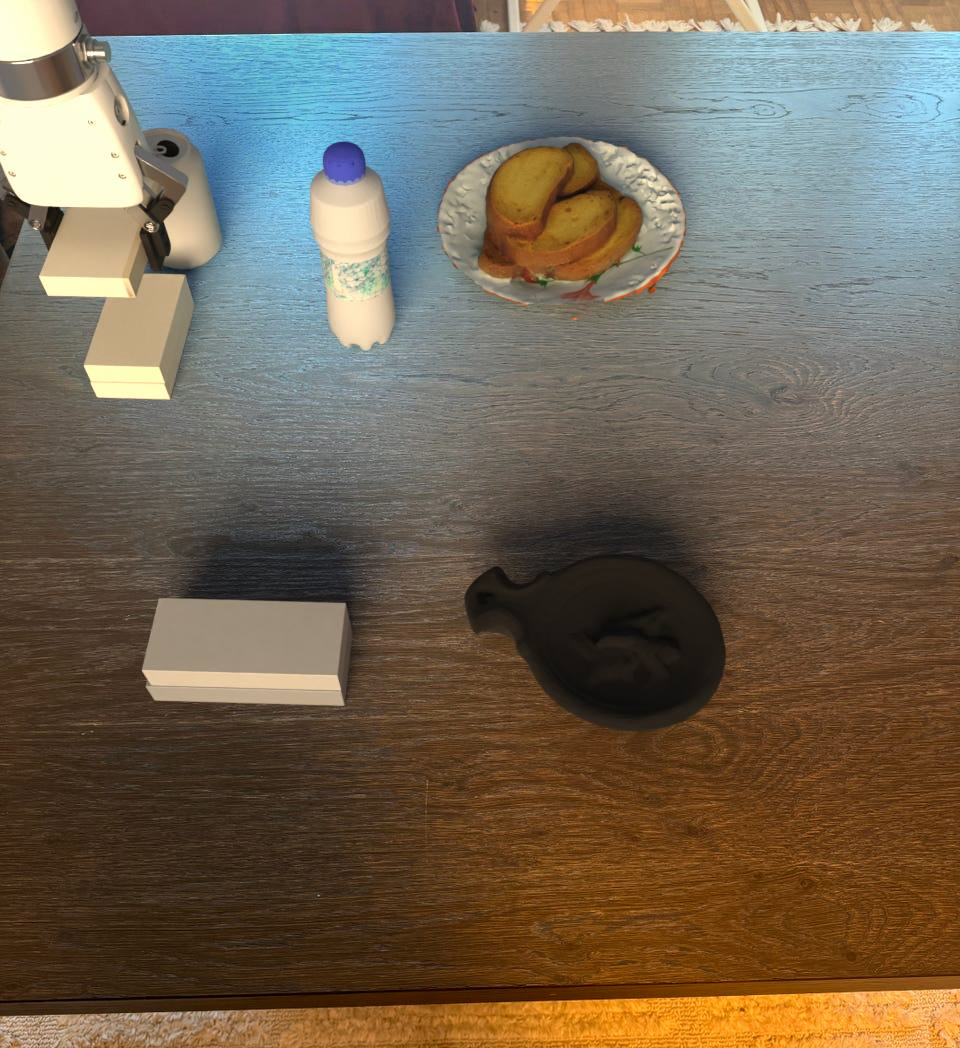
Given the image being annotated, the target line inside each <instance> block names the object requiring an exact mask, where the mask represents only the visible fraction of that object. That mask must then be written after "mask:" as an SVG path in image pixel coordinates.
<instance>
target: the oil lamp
mask: <svg viewBox="0 0 960 1048" xmlns="http://www.w3.org/2000/svg"><path fill="white" fill-rule="evenodd" d="M705 597H706V596H704V595H703V594H702V593H701V592H700V591H699V590H698V589H697V588H696V586H694V584H693V583H692V582H691V581H689V580H688V578H686V577H684V576H683V575H681V573H679V572H678V571H676V570H675V569H674V568H671V567H669V566H668V565H665V564H663V563H662V562H660V561H657V560H655V559H652V558H649V557H646V556H642V555H637V554H631V553H604V554H598V555H593V556H589V557H585V558H581V559H578V560H575V561H574V562H572V563H570V564H568V565H566V566H564V567H562V568H559V569H557V570H552V571H549V570H542V571H540V572H539V573H537V575H536V576H535V577H534V578H533V579H532V580H530V581H528V582H523V583H517V582H515V581H512V580H511V579H509V577H508V575H507V574H506V572H505V570H504V569H503V568H502V567H501V566H499V565H494V566H492V567H490V568H489V569H487V570H486V571H484V572H483V573H481V574H480V575H478V576H477V578H475V579H474V580H473V581H472V582H471V584H470V585H469V586H468V588H467V590H466V591H465V594H464V596H463V599H464V608H465V613H466V616H467V619H468V622H469V626H470V629H471V630H472V632H473V633H474V634H475V635H479V634H481V633H493V634H494V633H495V634H501V635H503V636H505V637H507V638H510V639H511V640H513V641H514V643H515V647H516V652H517V654H518V656H519V657H521V659H523V660H524V662H526V664H527V666H528V667H529V668H528V669H529V670H530V672H531V674H532V675H533V677H534V679H535V680H536V682H537V684H538V686H539V687H540V688H541V690H542V691H543V692H544V694H546V696H548V697H549V698H550V699H551V700H552V701H554V702H555V704H557V705H558V706H560V707H561V708H562V709H563V710H565V711H566V712H568V713H569V714H571V715H572V716H574V717H576V718H578V719H580V720H583V721H584V722H587V723H590V724H591V725H595V726H597V727H602V728H605V729H609V730H614V731H620V732H648V731H649V732H650V731H656V730H661V729H665V728H669V727H673V726H674V725H678V724H681V723H684V722H685V721H686V720H688V719H690V718H692V717H693V716H695V715H696V714H698V713H699V712H700V711H701V710H703V709H704V708H705V707H706V706H707V705H708V704H709V702H710V701H711V700H712V698H713V697H714V695H715V694H716V693H717V692H718V689H719V687H720V684H721V681H722V680H723V677H724V671H725V667H726V660H727V659H726V658H727V657H726V656H727V649H726V644H725V638H724V634H723V631H722V627H721V623H720V621H719V618H718V616H717V615H716V612H715V610H714V609H713V606H712V605H711V604H710V602H709V601H708V600H707V599H706V598H705Z"/></svg>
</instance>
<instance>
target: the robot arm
mask: <svg viewBox="0 0 960 1048" xmlns="http://www.w3.org/2000/svg"><path fill="white" fill-rule="evenodd" d="M111 61H112V50H111V46H110V44H109V42H108V41H105V40H103V41H102V40H101V41H100V40H98V39H97V38H92V37H91V35H90V33H89V30H88V27H87V24H86V23H83V21H82V18H81V15H80V12H79V10H78V5H77V3H76V1H75V0H0V200H1V201H2V202H3V205H4V206H5V207H6V208H8V209H9V210H11V211H12V212H14V213H16V214H17V215H19V216H20V217H23V218H24V219H25V220H27V225H28V226H29V227H30V228H31V229H32V230H34V231H38V232H39V234H40V236H41V239H42V240H43V243H44V245H45V247H46V249H47V251H48V252H49V250H50V248H51V245H52V243H53V240H54V238H55V236H56V234H57V231H58V229H59V226H60V224H61V221H62V219H63V216H64V213H65V211H63V210H62V209H61V208H62V207H64V208H65V207H66V208H67V207H123V208H124V209H125V210H126V211H127V212H128V213H129V214H130V215H131V216H132V217H133V218H134V219H135V220H136V221H137V222H138V223H139V224H140V225H141V226H142V227H141V230H140V233H139V236H140V239H141V240H142V243H143V246H144V249H145V252H146V255H147V257H148V261H147V263H148V264H149V268H150V270H152V271H153V272H162V269H163V266H164V265H163V263H164V259H165V256H169V255H170V251H171V243H170V239H169V236H168V233H167V230H166V227H165V224H164V220H165V219H166V218H167V217H168V216H169V215H170V214H171V213H172V211H173V209H174V207H175V206H176V204H177V203H178V202H179V200H180V199H181V198H182V196H183V195H184V193H185V192H186V189H187V186H188V182H189V178H188V176H187V175H186V174H184V173H182V172H181V171H179V170H178V169H176V168H174V167H173V166H171V165H169V164H168V163H166V162H164V161H163V160H161V159H159V158H158V157H156V156H154V155H153V154H151V152H150V149H149V147H148V144H147V141H146V139H145V136H144V134H143V131H144V130H143V128H142V127H141V124H140V123H139V120H138V117H137V115H136V113H135V111H134V110H135V109H134V108H133V106H132V104H131V102H130V100H129V98H128V96H127V94H126V91H125V90H124V88H123V86H122V84H121V82H120V81H119V79H118V77H117V75H116V74H115V72H114V70H113V69H112V67H111V66H110V64H109V63H111ZM143 176H146V177H148V178H150V179H151V180H153V181H155V182H156V183H158V184H160V185H161V186H163V187H164V189H163V190H162V191H161V192H160V193H159V194H158V195H156V194H155V193H154V192H153V191H152V190H151V189H150V188H149V187H148V186H147V185H146V183H145V182H144V181H143V180H142V177H143ZM142 203H143V204H144V205H145V206H146V207H147V208H145V207H144V206H143V205H142Z"/></svg>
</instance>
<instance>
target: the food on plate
mask: <svg viewBox="0 0 960 1048" xmlns="http://www.w3.org/2000/svg"><path fill="white" fill-rule="evenodd" d="M438 208H439V209H438V211H437V210H436V213H437V227H436V230H437V233H439V235H440V236H441V250H443V251H444V253H445V255H446V256H447V258H448V259H449V260H450V261H451V262H452V266H453V267H454V268H455V269H457V270H459V269H460V270H461V271H462V272H463V273H464V274H465V276H467V277H468V279H470V280H471V281H473V283H474V285H477V286H480V287H482V288H483V290H484V292H485V293H488V294H490V295H496V296H497V297H498V298H500V299H505V300H506V301H507V302H511V303H515V304H519V305H522V306H525V307H526V306H528V305H533V304H534V305H547V304H549V305H554V306H561V305H563V304H583V303H589V302H594V301H601V300H603V302H604V304H606V303H610V302H613V301H614V302H617V301H619V300H621V299H623V298H626V297H628V296H631V295H632V296H634V294H635V293H637V295H639V294H640V293H642V292H643V291H644V290H646V289H647V288H648V289H647V293H649V294H653V293H656V292H657V290H656V288H655V285H656V284H657V283H658V282H659V281H660V280H661V279H662V277H663V276H664V275H666V273H668V272H669V270H670V269H671V266H672V264H673V263H674V262H675V260H676V259H677V258H678V257H679V254H680V251H681V248H682V247H683V245H684V238H685V237H686V236H687V235H686V233H687V217H686V214H687V212H686V209H685V207H684V206H683V205H682V198H681V196H680V192H679V191H678V189H677V188H676V187H675V186H674V185H673V183H672V182H671V181H670V179H669V178H668V176H666V175H665V174H663V172H662V171H661V170H660V169H659V168H658V167H657V166H655V165H653V163H651V162H650V161H649V160H648V159H647V158H646V157H643V156H638V155H637V154H636V153H634V152H633V151H631V149H629V148H628V147H627V146H616V145H614V144H611V143H609V142H605V141H602V140H599V141H596V142H594V141H593V140H592V139H585V138H583V137H578V136H557V137H554V136H548V137H544V138H535V139H532V138H530V139H523V140H521V141H518V142H515V143H510V144H507V145H502V146H500V147H497V148H496V149H493V150H491V151H489V152H487V153H485V154H484V153H483V154H481V155H480V156H479V157H477V158H475V159H473V161H471V162H470V163H468V164H466V165H465V166H463V167H462V168H461V170H459V171H457V172H456V175H455V177H453V178H452V179H451V180H449V181H448V182H447V186H446V187H445V188H444V191H443V194H442V198H441V201H440V202H439V204H438ZM649 287H650V288H649ZM535 298H538V299H539V300H540V301H531V300H535ZM578 319H579V318H578V317H573V318H572V321H577V320H578Z"/></svg>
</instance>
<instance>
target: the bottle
mask: <svg viewBox="0 0 960 1048" xmlns="http://www.w3.org/2000/svg"><path fill="white" fill-rule="evenodd" d="M365 156H366V155H365V153H364V151H363V149H362V148H361V147H360V146H359V145H358V144H356V143H354V142H351V141H343V140H342V141H336V142H333V143H331V144H330V145H328V146H327V147H326V149H325V150H324V152H323V154H322V168H323V169H321V170H319V171H318V172H317V173H316V174H315V175H314V176H313V178H312V179H311V182H310V186H309V223H310V225H311V227H312V228H311V229H312V236H313V238H314V240H315V241H316V243H317V244H318V250H319V256H320V262H321V267H322V274H323V281H324V285H325V301H326V314H327V320H328V324H329V328H330V330H331V332H332V333H333V334H334V335H335V336H336V337H337V339H338V341H339V343H341V345H342V346H343V347H346V348H347V349H351V348H353V346H354V345H357V346H359V348H360V350H362V351H364V352H365V351H366V352H368V351H370V350H371V349H372V347H373V345H374V344H375V343H378V344H380V345H384V344H386V343H387V342H388V341H389V339H390V337H391V335H392V331H393V328H394V327H395V324H396V320H397V319H396V317H397V316H396V314H397V313H396V303H395V298H394V297H395V296H394V292H393V286H392V281H391V266H390V257H389V254H390V253H389V243H388V237H389V235H390V231H391V222H390V220H391V219H390V218H391V211H390V208H389V204H388V200H387V196H386V191H385V187H384V183H383V180H382V178H381V175H379V173H378V172H377V171H376V170H375V169H372V168H371V167H370V166H367V163H366V157H365Z"/></svg>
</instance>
